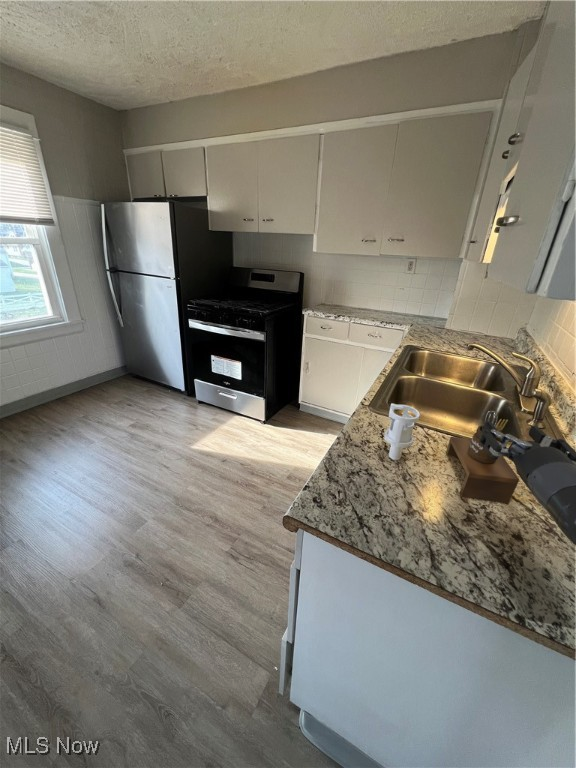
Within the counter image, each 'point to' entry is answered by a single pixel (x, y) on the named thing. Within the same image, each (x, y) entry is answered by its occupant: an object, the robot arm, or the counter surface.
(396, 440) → the strainer
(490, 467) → the wooden pedestal stand
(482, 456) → the utensil holder
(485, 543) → the counter surface
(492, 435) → the robot arm
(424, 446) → the counter surface
